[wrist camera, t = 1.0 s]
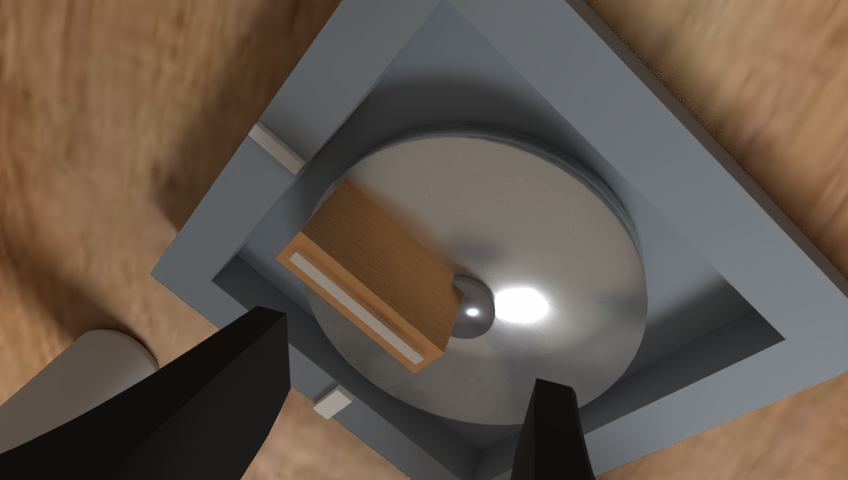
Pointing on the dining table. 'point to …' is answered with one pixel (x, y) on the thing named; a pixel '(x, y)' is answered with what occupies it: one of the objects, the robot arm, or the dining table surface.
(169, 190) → the dining table surface
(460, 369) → the dial
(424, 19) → the slate tray
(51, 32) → the dining table surface
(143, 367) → the beverage can
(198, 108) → the dining table surface
